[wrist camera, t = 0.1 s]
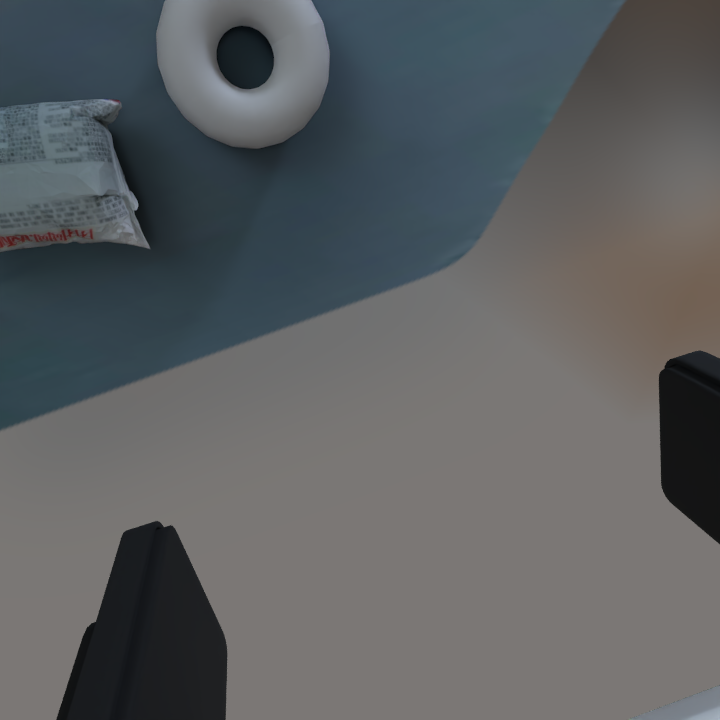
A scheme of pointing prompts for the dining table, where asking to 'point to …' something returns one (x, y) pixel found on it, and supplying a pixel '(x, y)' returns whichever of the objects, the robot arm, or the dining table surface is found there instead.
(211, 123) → the donut
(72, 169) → the packaged food
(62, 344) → the dining table surface
